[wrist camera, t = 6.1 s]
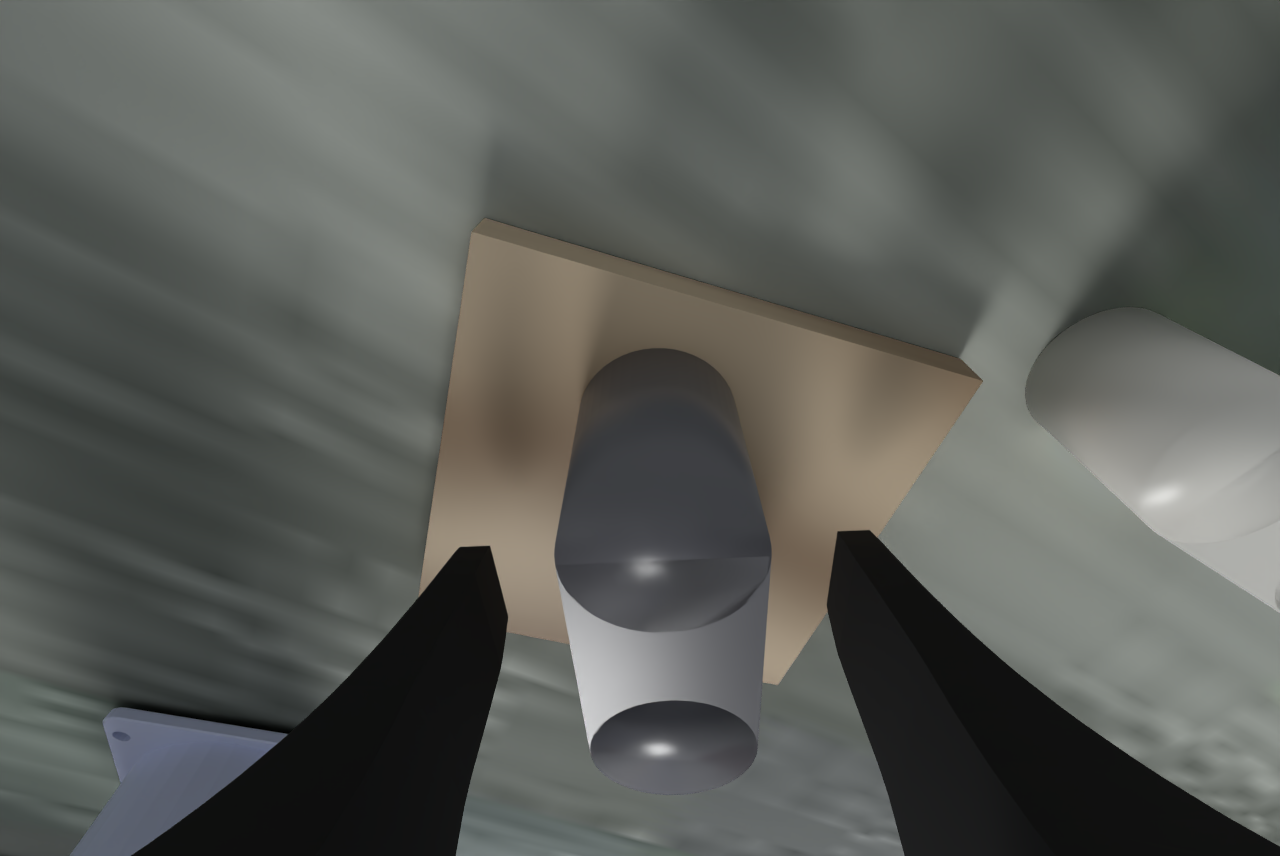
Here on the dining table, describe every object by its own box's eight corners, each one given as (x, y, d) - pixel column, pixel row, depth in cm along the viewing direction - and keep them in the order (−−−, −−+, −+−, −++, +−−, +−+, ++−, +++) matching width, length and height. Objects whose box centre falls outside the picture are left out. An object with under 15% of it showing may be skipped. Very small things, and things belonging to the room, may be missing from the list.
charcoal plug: (570, 352, 12) (539, 478, 8) (737, 343, 11) (778, 467, 8) (615, 689, 17) (608, 848, 14) (729, 685, 17) (750, 844, 14)
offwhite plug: (995, 394, 13) (1101, 498, 10) (1116, 279, 12) (1282, 359, 9) (1231, 551, 16) (1375, 674, 12) (1355, 471, 14) (1550, 586, 11)
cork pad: (771, 654, 18) (777, 684, 17) (427, 584, 16) (415, 614, 15) (960, 358, 13) (982, 380, 12) (484, 217, 11) (471, 231, 10)
